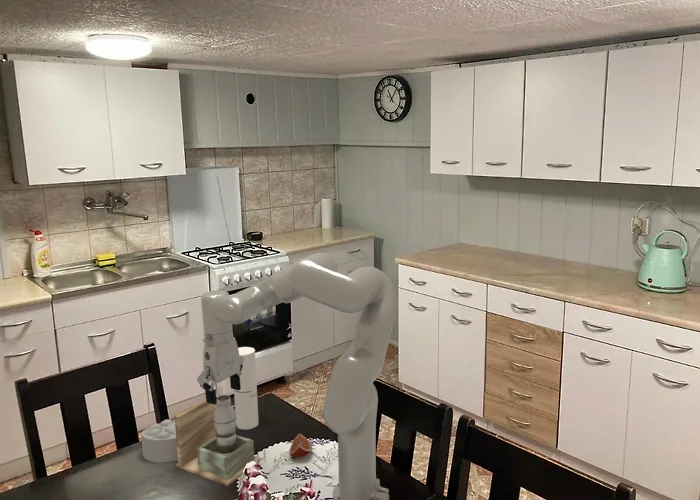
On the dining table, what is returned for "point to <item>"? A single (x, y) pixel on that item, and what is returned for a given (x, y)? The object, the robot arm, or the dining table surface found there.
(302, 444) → the fruit slice
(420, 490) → the dining table surface
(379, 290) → the robot arm
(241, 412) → the cylindrical container
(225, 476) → the wall caddy
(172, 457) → the lumpy-topped squat cylinder
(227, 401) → the plastic bottle
